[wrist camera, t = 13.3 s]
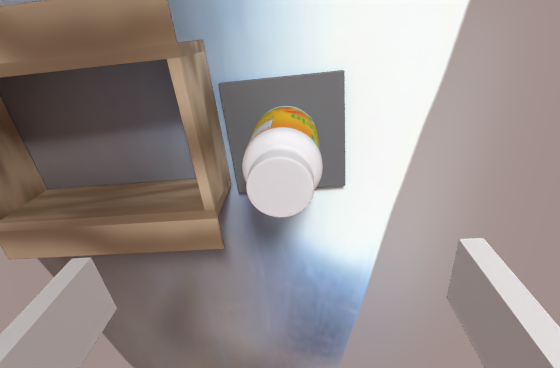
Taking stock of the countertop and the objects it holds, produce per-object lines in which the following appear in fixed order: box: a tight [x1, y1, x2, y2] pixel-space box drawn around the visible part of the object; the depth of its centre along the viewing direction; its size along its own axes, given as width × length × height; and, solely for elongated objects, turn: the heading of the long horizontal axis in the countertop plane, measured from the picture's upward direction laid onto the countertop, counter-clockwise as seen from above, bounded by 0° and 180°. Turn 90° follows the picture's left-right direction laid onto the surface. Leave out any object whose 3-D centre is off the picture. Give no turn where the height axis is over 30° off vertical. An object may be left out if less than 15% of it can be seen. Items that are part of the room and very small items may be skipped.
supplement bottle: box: [242, 106, 323, 218], centre depth 22 cm, size 5×5×10 cm
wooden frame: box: [0, 0, 231, 259], centre depth 25 cm, size 19×20×6 cm
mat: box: [219, 70, 345, 193], centre depth 27 cm, size 10×10×1 cm
